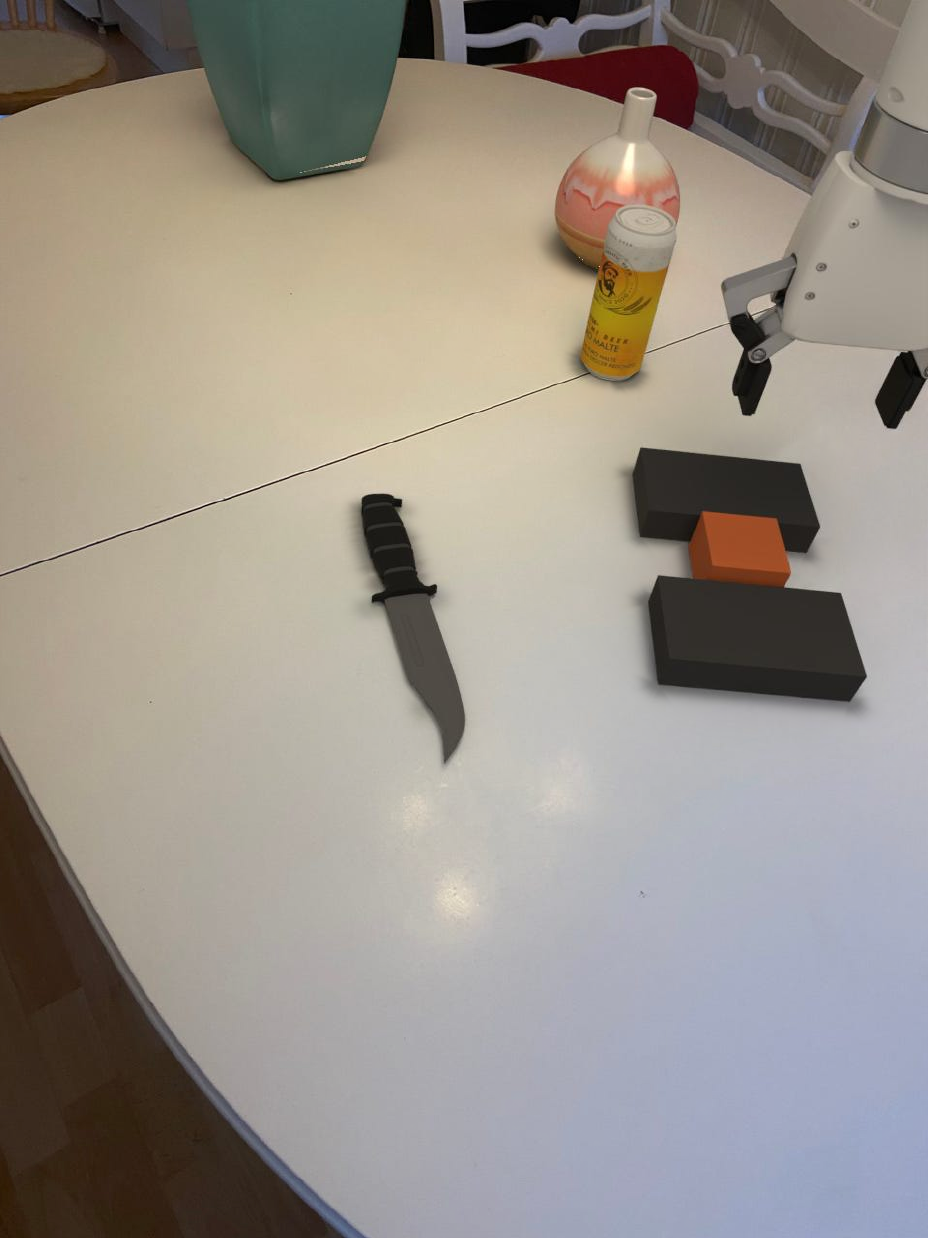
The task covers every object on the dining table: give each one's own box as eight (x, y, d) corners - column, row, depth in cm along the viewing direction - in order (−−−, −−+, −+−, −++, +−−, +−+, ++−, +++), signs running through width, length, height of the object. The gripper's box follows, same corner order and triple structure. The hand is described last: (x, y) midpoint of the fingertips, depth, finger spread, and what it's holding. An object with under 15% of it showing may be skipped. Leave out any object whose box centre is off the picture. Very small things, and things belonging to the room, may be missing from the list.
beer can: (566, 360, 92) (596, 211, 81) (608, 342, 95) (643, 196, 84) (610, 391, 89) (647, 241, 78) (652, 371, 92) (694, 224, 81)
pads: (788, 489, 82) (800, 463, 80) (849, 702, 67) (867, 676, 64) (632, 473, 81) (640, 446, 79) (658, 684, 66) (669, 658, 64)
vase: (522, 248, 106) (547, 80, 93) (602, 219, 113) (636, 59, 100) (609, 301, 100) (649, 130, 87) (688, 268, 107) (736, 104, 94)
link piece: (760, 554, 76) (777, 518, 73) (773, 608, 72) (791, 572, 69) (688, 547, 76) (702, 510, 73) (697, 601, 72) (712, 565, 69)
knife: (497, 747, 59) (422, 762, 58) (494, 761, 60) (420, 775, 59) (404, 489, 75) (343, 496, 73) (403, 503, 76) (343, 511, 75)
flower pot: (330, 113, 126) (327, -153, 105) (408, 173, 116) (422, -107, 95) (191, 135, 118) (157, -150, 96) (263, 202, 107) (242, -99, 86)
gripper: (1060, 135, 52) (923, 388, 65) (759, 104, 52) (681, 366, 65) (1116, 195, 48) (956, 456, 61) (785, 162, 47) (695, 433, 60)
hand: (814, 409), depth 63 cm, fingers open, 9 cm apart
